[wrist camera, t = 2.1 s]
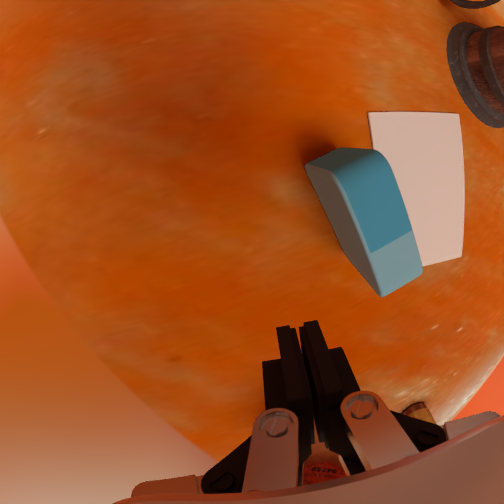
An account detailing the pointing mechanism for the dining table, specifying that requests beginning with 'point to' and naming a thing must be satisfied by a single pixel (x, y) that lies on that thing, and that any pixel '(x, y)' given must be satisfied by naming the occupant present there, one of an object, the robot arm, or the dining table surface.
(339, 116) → the dining table surface
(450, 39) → the tankard
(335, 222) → the data package
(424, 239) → the mat
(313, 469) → the butternut squash
